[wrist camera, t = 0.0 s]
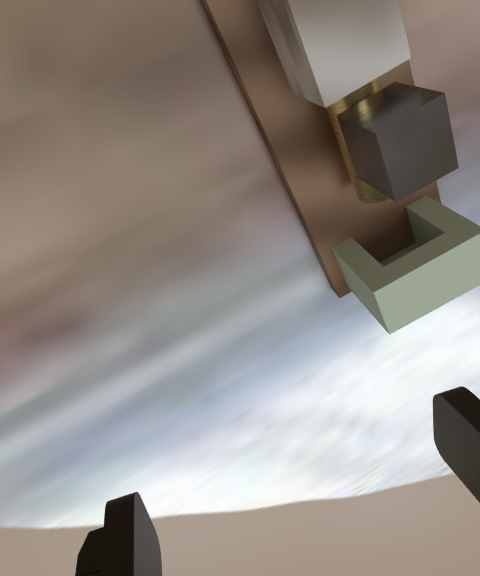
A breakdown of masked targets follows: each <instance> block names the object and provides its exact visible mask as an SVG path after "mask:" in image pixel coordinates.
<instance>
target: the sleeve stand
mask: <svg viewBox="0 0 480 576" xmlns="http://www.w3.org/2000/svg"><path fill="white" fill-rule="evenodd" d="M201 1H202V3H203V5H204V8H205V10H206V12H207V14H208V16H209V19H210V21H211V23H212V25H213V27H214V30H215V32H216V34H217V36H218V38H219V41H220V43H221V45H222V47H223V49H224V52H225V54H226V56H227V58H228V61H229V63H230V65H231V67H232V69H233V72H234V74H235V76H236V78H237V80H238V83H239V85H240V87H241V89H242V91H243V94H244V96H245V98H246V100H247V102H248V105H249V107H250V109H251V111H252V113H253V116H254V118H255V120H256V122H257V124H258V127H259V129H260V131H261V133H262V135H263V138H264V140H265V142H266V144H267V146H268V149H269V151H270V153H271V155H272V157H273V160H274V162H275V164H276V166H277V168H278V171H279V173H280V175H281V177H282V179H283V182H284V184H285V186H286V188H287V191H288V193H289V195H290V197H291V199H292V202H293V204H294V206H295V208H296V210H297V213H298V215H299V217H300V219H301V221H302V224H303V226H304V228H305V230H306V232H307V235H308V237H309V239H310V241H311V243H312V246H313V248H314V250H315V252H316V254H317V257H318V259H319V261H320V263H321V265H322V268H323V270H324V272H325V274H326V276H327V279H328V281H329V283H330V285H331V287H332V289H333V291H334V292H335V293H336V294H337V296H338V297H339V298H341V297H342V296H344V295H346V294H348V293H350V292H351V290H350V288H349V287H348V285H347V283H346V281H345V278H344V276H343V274H342V271H341V269H340V266H339V264H338V262H337V259H336V257H335V255H334V252H333V250H332V248H334V247H336V246H337V245H339V244H341V243H343V242H344V241H346V240H348V239H350V238H351V237H352V238H353V239H354V240H355V241H356V242H357V243H358V244H359V245H360V246H362V247H363V248H364V249H365V250H366V251H367V252H368V253H369V254H370V255H371V256H372V257H373V258H374V259H376V260H377V261H378V262H379V263H380V262H382V261H384V260H385V259H387V258H389V257H391V256H393V255H394V254H396V253H398V252H400V251H401V250H403V249H405V248H407V247H409V246H410V245H412V244H414V243H416V242H415V238H414V234H413V231H412V227H411V224H410V220H409V217H408V213H407V210H406V206H408V205H410V204H412V203H413V202H415V201H417V200H419V199H420V198H422V197H424V196H428V197H430V198H431V199H433V200H435V201H437V202H438V203H440V204H441V201H440V196H439V192H438V187H437V183H436V181H434V182H432V183H431V184H429V185H427V186H425V187H424V188H422V189H420V190H418V191H417V192H415V193H413V194H411V195H410V196H408V197H406V198H404V199H403V200H401V201H399V202H397V203H395V202H394V201H392V200H391V199H389V200H386V201H383V202H379V203H363V202H361V201H360V200H359V199H358V197H357V195H356V192H355V189H354V186H353V183H352V180H351V178H350V175H349V172H348V169H347V166H346V163H345V161H344V158H343V155H342V152H341V149H340V146H339V143H338V141H337V138H336V135H335V132H334V129H333V126H332V124H331V121H330V118H329V115H328V112H327V109H326V107H328V106H330V105H331V104H333V103H335V102H337V101H338V100H340V99H342V98H343V97H345V96H347V95H348V94H350V93H352V92H354V91H355V90H357V89H359V88H360V87H362V86H364V85H366V84H367V83H369V82H371V81H372V80H374V79H376V78H378V77H379V80H380V83H381V87H382V89H383V88H384V87H386V86H388V85H390V84H391V83H393V82H398V83H403V84H407V85H412V86H414V81H413V77H412V72H411V68H410V64H409V59H410V58H411V55H410V50H409V46H408V41H407V37H406V32H405V28H404V23H403V19H402V14H401V10H400V5H399V1H398V0H201Z"/></svg>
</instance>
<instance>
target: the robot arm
mask: <svg viewBox="0 0 480 576" xmlns="http://www.w3.org/2000/svg"><path fill="white" fill-rule="evenodd" d="M433 427H434V441H435V444H436V447H437V449H438V451H439V453H440V455H441V457H442V458H443V460H444V461H445V462H446V463H447V464H448V466H449V467H450V468H451V469H452V470H453V472H454V473H455V474H456V475H457V476H458V477H459V479H460V480H461V481H462V482H463V483H464V484H465V486H466V487H467V488H468V489H469V490H470V492H471V493H472V494H473V495H474V496H475V498H476V499H477V500H478V501H479V502H480V399H478V398H477V397H476V396H475V395H474V394H473V393H472V392H470V391H469V390H468V389H467V388H465V387H458V388H455V389H452V390H449V391H445V392H442V393H439V394H436V395H435V396H434V397H433ZM161 564H162V563H161V552H160V545H159V541H158V536H157V533H156V530H155V528H154V526H153V524H152V521H151V519H150V517H149V514H148V512H147V510H146V508H145V505H144V503H143V501H142V499H141V497H140V495H139V493H138V492H135V493H132V494H129V495H126V496H123V497H120V498H117V499H113V500H110V501H108V502H107V503H106V507H105V518H104V527H102V528H99V529H96V530H93V531H90V532H89V533H88V535H87V538H86V540H85V542H84V544H83V546H82V548H81V550H80V552H79V554H78V559H77V567H76V574H75V576H162V565H161Z"/></svg>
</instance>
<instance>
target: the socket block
mask: <svg viewBox="0 0 480 576" xmlns="http://www.w3.org/2000/svg"><path fill="white" fill-rule="evenodd" d="M406 210H407V213H408V217H409V220H410V224H411V227H412V231H413V234H414V238H415V242H416V243H414V244H412V245H410V246H409V247H407V248H405V249H403V250H401V251H400V252H398V253H396V254H394V255H393V256H391V257H389V258H387V259H385V260H384V261H382V262H380V263H379V262H378V261H377V260H376V259H374V258H373V257H372V256H371V255H370V254H369V253H368V252H367V251H366V250H365V249H364V248H363V247H362V246H360V245H359V244H358V243H357V242H356V241H355V240H354V239H353V238H352V237H351V238H350V239H348V240H346V241H344V242H343V243H341V244H339V245H337V246H336V247H334V248H332V250H333V252H334V255H335V257H336V259H337V262H338V264H339V266H340V269H341V271H342V274H343V276H344V278H345V281H346V283H347V285H348V287H349V288H350V290H351V291H352V292H353V293H354V294H355V295H356V297H357V298H358V299H359V300H360V301H361V302H362V303H363V305H364V306H365V307H366V308H367V309H368V310H369V311H370V313H371V314H372V315H373V316H374V317H375V318H376V320H377V321H378V322H379V323H380V324H381V325H382V326H383V328H384V329H385V330H386V331H387V332H388V333H389V334H391V333H393V332H395V331H397V330H399V329H400V328H402V327H404V326H406V325H408V324H410V323H411V322H413V321H415V320H417V319H419V318H420V317H422V316H424V315H426V314H428V313H430V312H431V311H433V310H435V309H437V308H439V307H440V306H442V305H444V304H446V303H448V302H450V301H451V300H453V299H455V298H457V297H459V296H461V295H462V294H464V293H466V292H468V291H470V290H471V289H473V288H475V287H477V286H479V285H480V226H479V225H477V224H475V223H473V222H472V221H470V220H468V219H466V218H465V217H463V216H461V215H459V214H458V213H456V212H454V211H452V210H451V209H449V208H447V207H445V206H444V205H442V204H440V203H438V202H437V201H435V200H433V199H431V198H430V197H428V196H424V197H422V198H420V199H419V200H417V201H415V202H413V203H412V204H410V205H408V206H406Z"/></svg>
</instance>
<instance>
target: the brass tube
mask: <svg viewBox="0 0 480 576" xmlns="http://www.w3.org/2000/svg"><path fill="white" fill-rule="evenodd" d="M326 109H327V112H328V115H329V118H330V121H331V124H332V126H333V129H334V132H335V135H336V138H337V141H338V143H339V146H340V149H341V152H342V155H343V158H344V161H345V163H346V166H347V169H348V172H349V175H350V178H351V180H352V183H353V186H354V189H355V192H356V195H357V197H358V199H359V200H360V201H361V202H363V203H379V202H383V201H386V200H389V199H391V200H392V201H394V202H395V203H397V202H399V201H401V200H403V199H404V198H406V197H408V196H410V195H411V194H413V193H415V192H417V191H418V190H420V189H422V188H424V187H425V186H427V185H429V184H431V183H432V182H434V181H436V180H438V179H440V178H441V177H443V176H445V175H447V174H448V173H450V172H452V171H454V170H455V169H457V168H459V166H458V161H457V156H456V150H455V145H454V140H453V135H452V129H451V124H450V119H449V113H448V108H447V103H446V97H445V93H442V92H438V91H434V90H429V89H425V88H420V87H416V86H412V85H407V84H403V83H398V82H393V83H391V84H390V85H388V86H386V87H384V88H383V89H382V87H381V83H380V80H379V77H378V78H376V79H374V80H372V81H371V82H369V83H367V84H366V85H364V86H362V87H360V88H359V89H357V90H355V91H354V92H352V93H350V94H348V95H347V96H345V97H343V98H342V99H340V100H338V101H337V102H335V103H333V104H331V105H330V106H328V107H326Z"/></svg>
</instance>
